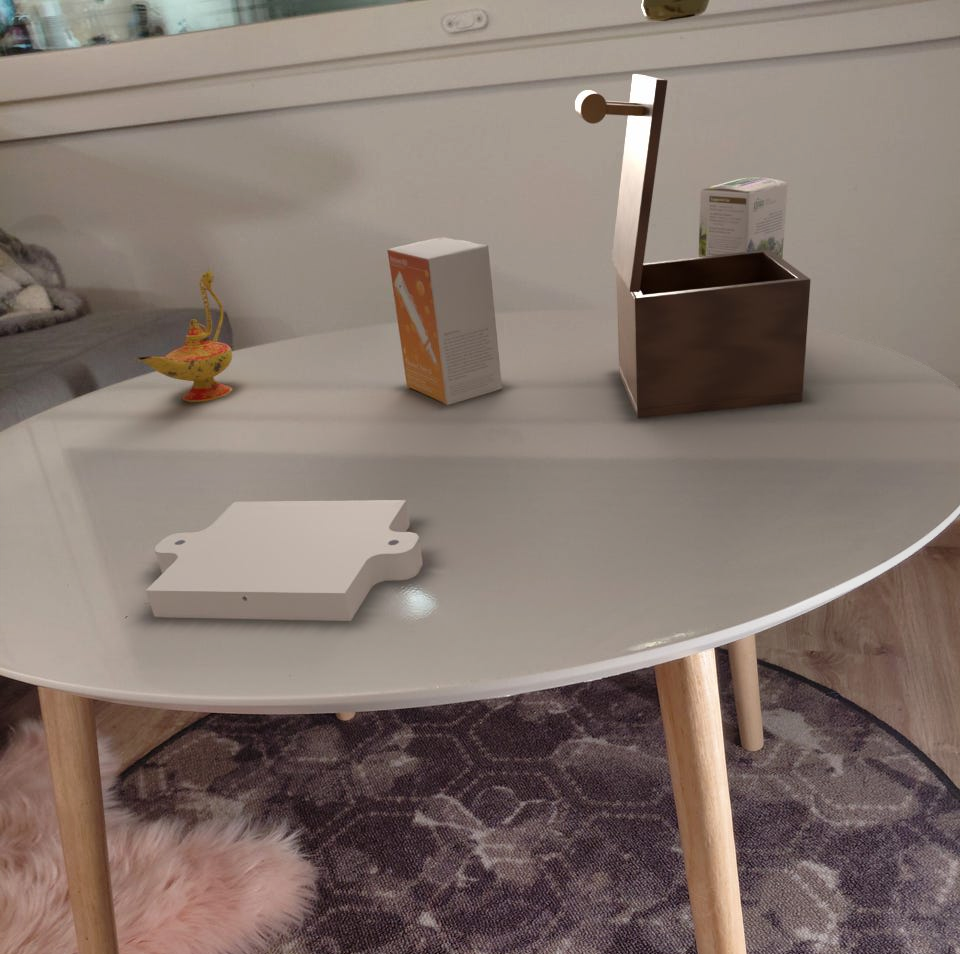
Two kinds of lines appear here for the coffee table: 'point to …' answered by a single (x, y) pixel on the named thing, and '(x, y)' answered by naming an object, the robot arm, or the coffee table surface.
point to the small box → (446, 318)
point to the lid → (632, 167)
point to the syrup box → (742, 217)
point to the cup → (672, 9)
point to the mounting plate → (285, 560)
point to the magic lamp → (198, 356)
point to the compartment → (713, 334)
